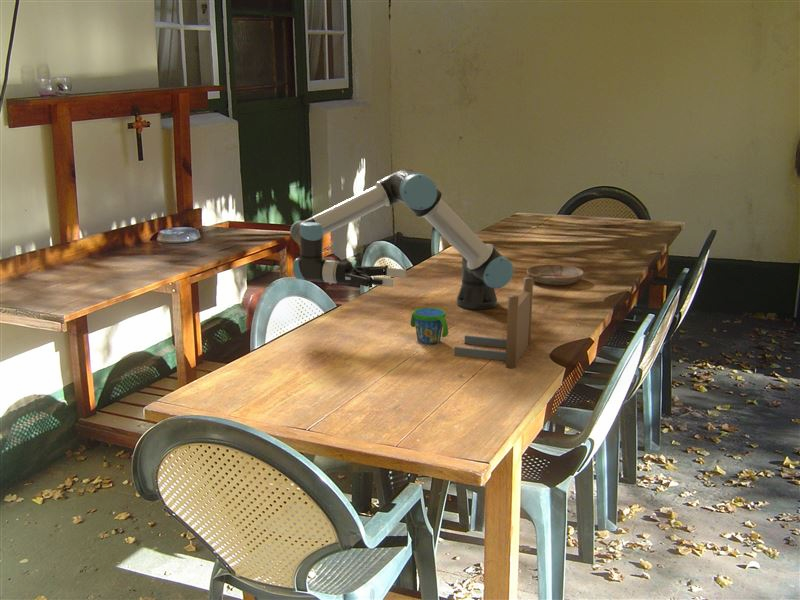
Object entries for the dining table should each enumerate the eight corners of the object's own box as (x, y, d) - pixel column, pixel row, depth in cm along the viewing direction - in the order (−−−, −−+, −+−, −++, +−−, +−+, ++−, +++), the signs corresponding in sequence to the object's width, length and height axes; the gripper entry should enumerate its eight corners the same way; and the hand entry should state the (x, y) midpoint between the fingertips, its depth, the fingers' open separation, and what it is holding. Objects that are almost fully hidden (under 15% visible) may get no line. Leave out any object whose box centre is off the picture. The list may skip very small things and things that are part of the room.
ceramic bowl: (515, 278, 391) (515, 267, 390) (563, 273, 400) (563, 262, 399) (544, 291, 370) (545, 279, 369) (594, 286, 379) (595, 274, 378)
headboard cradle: (470, 336, 311) (471, 272, 305) (531, 342, 305) (533, 277, 299) (448, 361, 286) (450, 292, 280) (514, 368, 280) (517, 298, 274)
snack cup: (456, 344, 302) (457, 314, 300) (430, 350, 297) (431, 319, 294) (427, 333, 315) (427, 304, 312) (402, 338, 309) (402, 308, 306)
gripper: (351, 275, 322) (410, 280, 316) (324, 291, 299) (387, 298, 293) (351, 254, 320) (410, 259, 314) (324, 269, 297) (387, 275, 291)
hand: (399, 278), depth 303 cm, fingers open, 13 cm apart
